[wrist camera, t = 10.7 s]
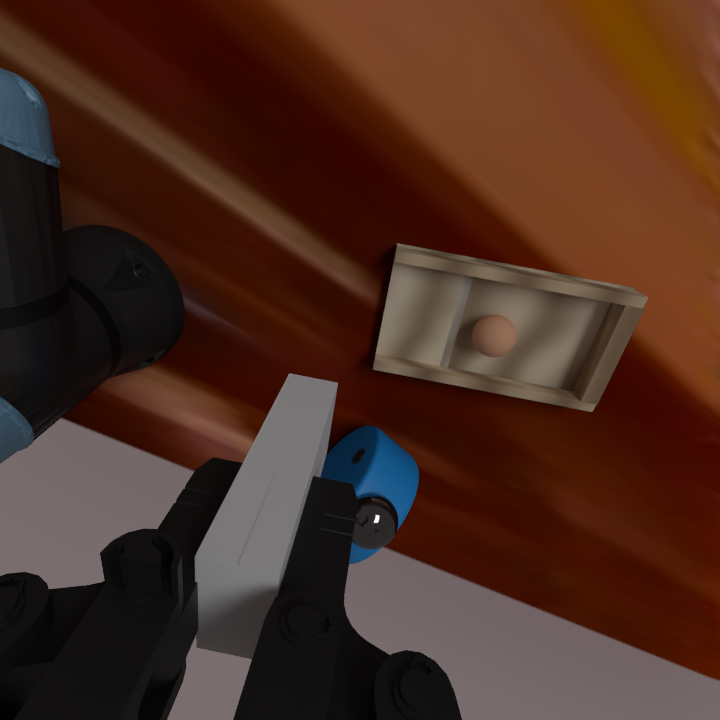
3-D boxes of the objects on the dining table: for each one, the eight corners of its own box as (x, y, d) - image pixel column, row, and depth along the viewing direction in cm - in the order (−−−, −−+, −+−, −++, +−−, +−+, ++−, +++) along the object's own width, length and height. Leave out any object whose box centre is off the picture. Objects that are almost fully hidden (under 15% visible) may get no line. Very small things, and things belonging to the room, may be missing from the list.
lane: (374, 356, 47) (372, 370, 44) (397, 243, 41) (396, 251, 39) (582, 397, 46) (593, 413, 44) (633, 287, 41) (649, 298, 38)
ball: (517, 360, 43) (484, 344, 45) (530, 321, 41) (495, 306, 44) (492, 367, 40) (458, 349, 43) (504, 326, 38) (469, 310, 41)
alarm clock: (343, 492, 56) (321, 604, 43) (306, 463, 54) (272, 570, 41) (420, 435, 51) (422, 543, 38) (381, 401, 49) (370, 501, 36)
